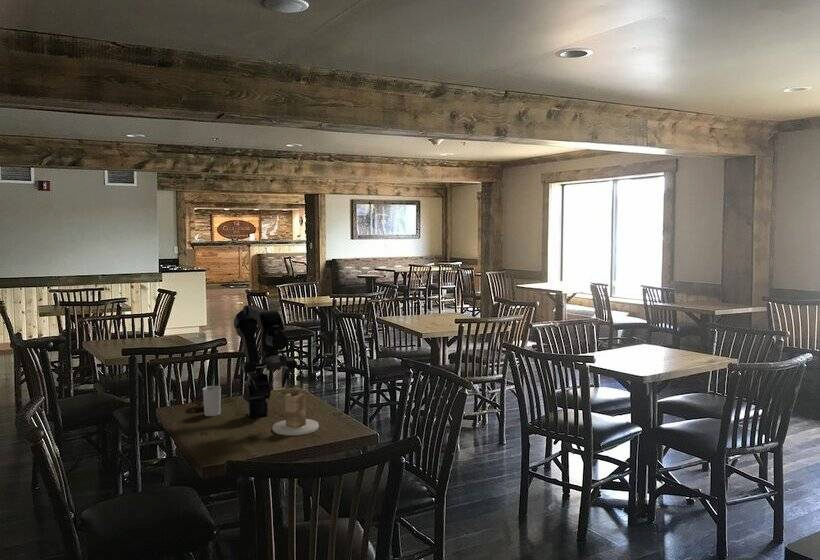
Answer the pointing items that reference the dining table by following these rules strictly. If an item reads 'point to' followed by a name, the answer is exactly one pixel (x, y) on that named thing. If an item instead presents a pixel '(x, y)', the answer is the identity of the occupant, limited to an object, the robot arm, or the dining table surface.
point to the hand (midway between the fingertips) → (270, 389)
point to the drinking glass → (212, 400)
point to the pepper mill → (295, 408)
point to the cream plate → (289, 431)
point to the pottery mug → (198, 399)
